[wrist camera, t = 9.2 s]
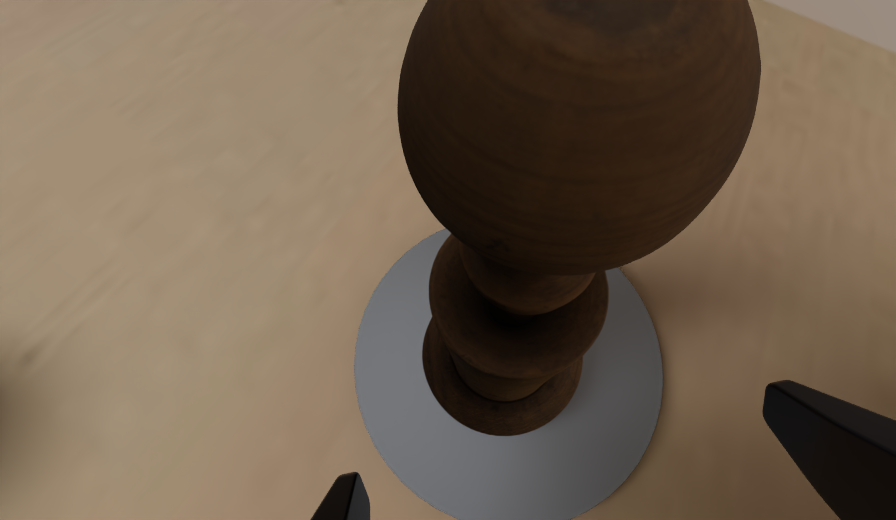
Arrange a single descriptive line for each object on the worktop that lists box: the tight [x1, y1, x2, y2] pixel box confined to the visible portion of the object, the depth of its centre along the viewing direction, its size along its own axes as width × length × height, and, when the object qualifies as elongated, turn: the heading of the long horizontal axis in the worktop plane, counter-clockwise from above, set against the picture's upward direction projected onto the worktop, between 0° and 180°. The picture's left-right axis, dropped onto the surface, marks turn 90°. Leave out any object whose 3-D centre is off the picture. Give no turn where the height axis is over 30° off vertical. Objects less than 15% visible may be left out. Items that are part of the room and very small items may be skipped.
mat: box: [354, 229, 663, 520], centre depth 20 cm, size 14×14×1 cm
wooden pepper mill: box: [398, 0, 761, 436], centre depth 11 cm, size 7×6×18 cm
